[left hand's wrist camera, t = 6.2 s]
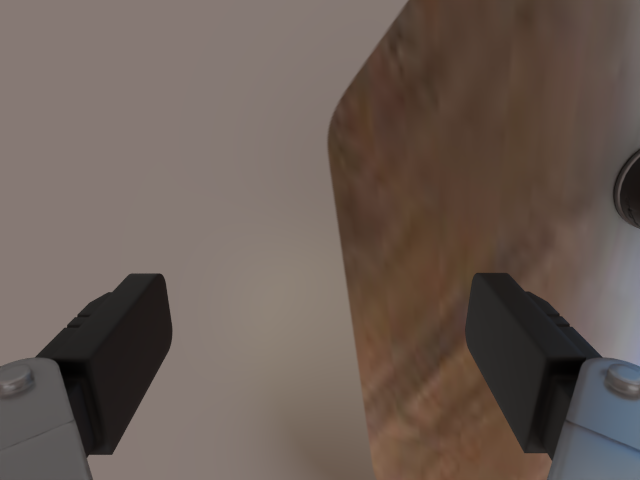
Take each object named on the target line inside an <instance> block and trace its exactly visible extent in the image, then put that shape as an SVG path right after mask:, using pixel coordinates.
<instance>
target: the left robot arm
mask: <svg viewBox="0 0 640 480" xmlns="http://www.w3.org/2000/svg"><path fill="white" fill-rule="evenodd" d="M614 199H615V205H616V208H617V211H618V213H619V214H620V216H621V217H622V218H623V219H624V220H625V221H626V222H628V223H629V224H631V225H633V226H635V227H637V228H639V229H640V150H639V151H638V152H637V153H636V154H635V155H634V156H633V157H632V158H631V159H630V160H629V161H628V162H627V163H626V165H625V166H624V168H623V169H622V171H621V173H620V175H619V177H618V179H617V182H616V186H615V192H614ZM465 332H466V341H467V346H468V349H469V351H470V353H471V355H472V356H473V358H474V360H475V362H476V364H477V366H478V368H479V369H480V371H481V373H482V375H483V377H484V379H485V381H486V382H487V384H488V386H489V388H490V390H491V392H492V394H493V395H494V397H495V399H496V401H497V403H498V405H499V407H500V408H501V410H502V412H503V414H504V416H505V418H506V420H507V421H508V423H509V425H510V427H511V429H512V431H513V433H514V434H515V436H516V438H517V440H518V442H519V444H520V446H521V447H522V449H523V451H524V453H548V455H549V457H550V458H551V460H552V465H551V468H550V471H549V475H548V478H547V480H640V366H637V365H635V364H632V363H629V362H626V361H622V360H618V359H613V358H603V357H602V356H601V355H600V354H599V353H598V352H597V351H596V350H595V349H594V348H593V347H592V346H591V345H590V344H589V343H588V342H587V341H586V340H585V339H584V338H583V337H582V336H581V335H580V334H579V333H578V332H577V331H576V330H575V329H574V328H573V327H570V324H569V323H568V322H567V321H566V320H565V319H564V318H563V317H562V316H559V313H558V312H557V311H556V310H555V309H554V308H553V307H552V306H551V305H550V304H549V303H548V302H547V301H545V300H543V299H541V298H540V297H538V296H536V295H534V294H532V293H531V292H525V291H524V290H523V289H522V288H521V287H520V286H519V285H518V284H517V283H516V281H515V280H514V279H513V278H512V277H511V276H510V275H509V274H507V273H476V274H475V275H474V277H473V280H472V286H471V292H470V299H469V306H468V313H467V320H466V329H465ZM171 341H172V322H171V315H170V309H169V302H168V295H167V289H166V282H165V279H164V277H163V275H162V274H129V275H128V276H127V277H126V278H125V279H124V280H123V281H122V282H121V284H120V285H119V286H118V287H117V288H116V289H115V290H114V291H113V292H108V293H106V294H104V295H103V296H101V297H99V298H97V299H95V300H94V301H92V302H90V303H89V304H88V305H87V306H86V307H85V308H84V309H83V310H82V311H81V312H80V313H79V314H78V316H77V317H75V318H74V319H73V320H72V321H71V322H70V323H69V324H68V325H67V328H64V329H63V330H62V331H61V332H60V333H59V334H58V335H57V336H56V337H55V338H54V339H53V340H52V341H51V342H50V343H49V344H48V345H47V346H46V347H45V348H44V349H43V350H42V351H41V352H40V353H39V354H38V355H37V356H36V357H35V358H27V359H22V360H18V361H14V362H11V363H8V364H5V365H3V366H0V480H93V478H92V475H91V471H90V468H89V465H88V461H87V457H88V455H112V454H113V452H114V450H115V448H116V447H117V445H118V443H119V441H120V439H121V437H122V436H123V434H124V432H125V430H126V428H127V426H128V424H129V423H130V421H131V419H132V417H133V415H134V414H135V412H136V410H137V408H138V406H139V404H140V402H141V401H142V399H143V397H144V395H145V393H146V391H147V390H148V388H149V386H150V384H151V382H152V380H153V379H154V377H155V375H156V373H157V371H158V369H159V368H160V366H161V364H162V362H163V360H164V358H165V357H166V355H167V353H168V351H169V349H170V345H171Z"/></svg>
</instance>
